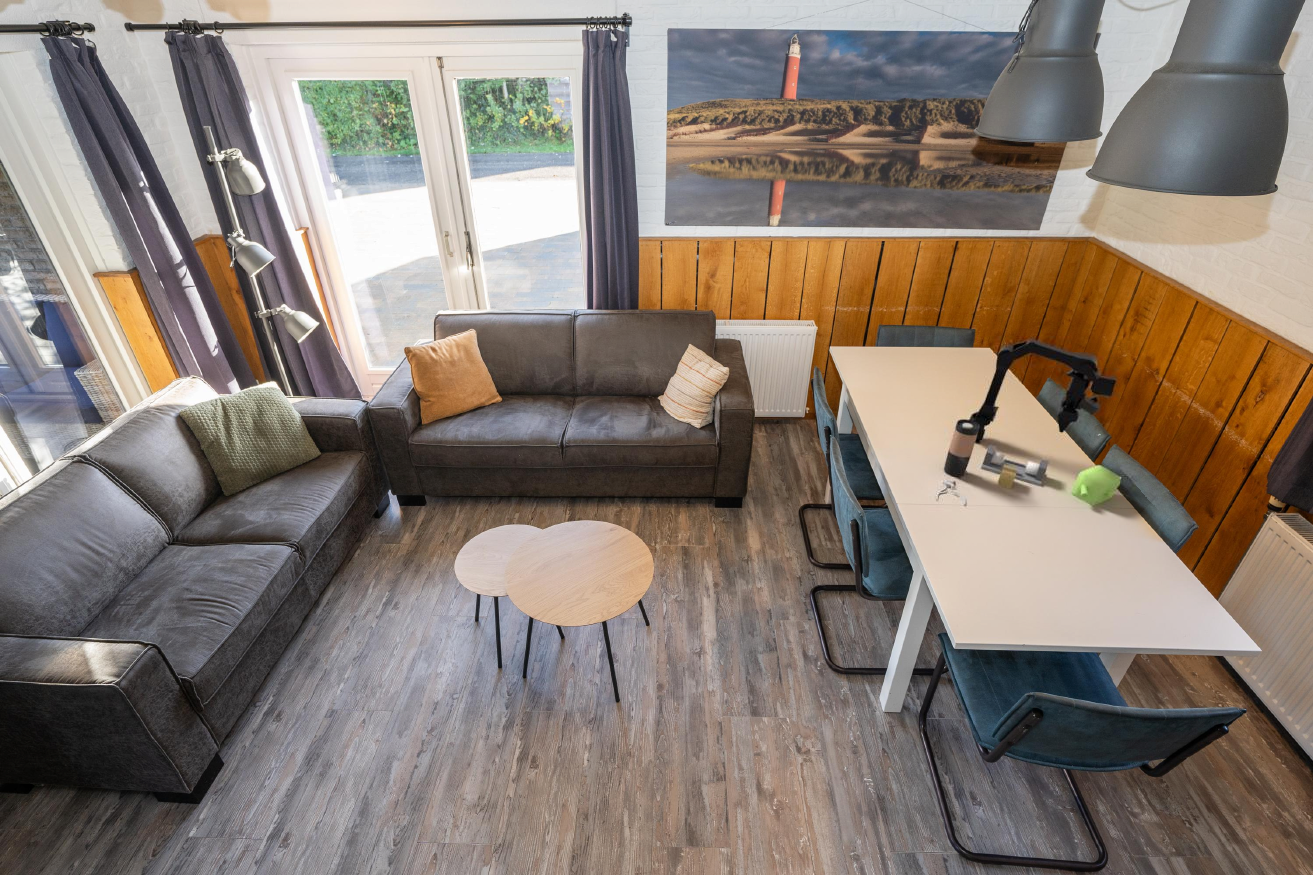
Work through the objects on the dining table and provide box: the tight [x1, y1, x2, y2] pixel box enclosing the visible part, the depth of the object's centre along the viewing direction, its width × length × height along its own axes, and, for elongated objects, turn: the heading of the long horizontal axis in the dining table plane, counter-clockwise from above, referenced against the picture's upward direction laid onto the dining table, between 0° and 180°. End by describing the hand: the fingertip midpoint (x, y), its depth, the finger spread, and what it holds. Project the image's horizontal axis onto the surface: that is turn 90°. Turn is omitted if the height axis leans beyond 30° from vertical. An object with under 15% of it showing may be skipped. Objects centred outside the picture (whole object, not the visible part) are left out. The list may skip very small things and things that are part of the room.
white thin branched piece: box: [934, 475, 966, 506], centre depth 233 cm, size 10×2×15 cm
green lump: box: [1070, 464, 1122, 506], centre depth 230 cm, size 18×10×10 cm, turn 117°
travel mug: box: [943, 418, 980, 478], centre depth 239 cm, size 8×8×20 cm
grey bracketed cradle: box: [980, 444, 1049, 487], centre depth 244 cm, size 20×10×6 cm, turn 58°
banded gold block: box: [997, 464, 1018, 489], centre depth 237 cm, size 6×5×6 cm
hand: (1062, 427), depth 245 cm, fingers open, 9 cm apart
